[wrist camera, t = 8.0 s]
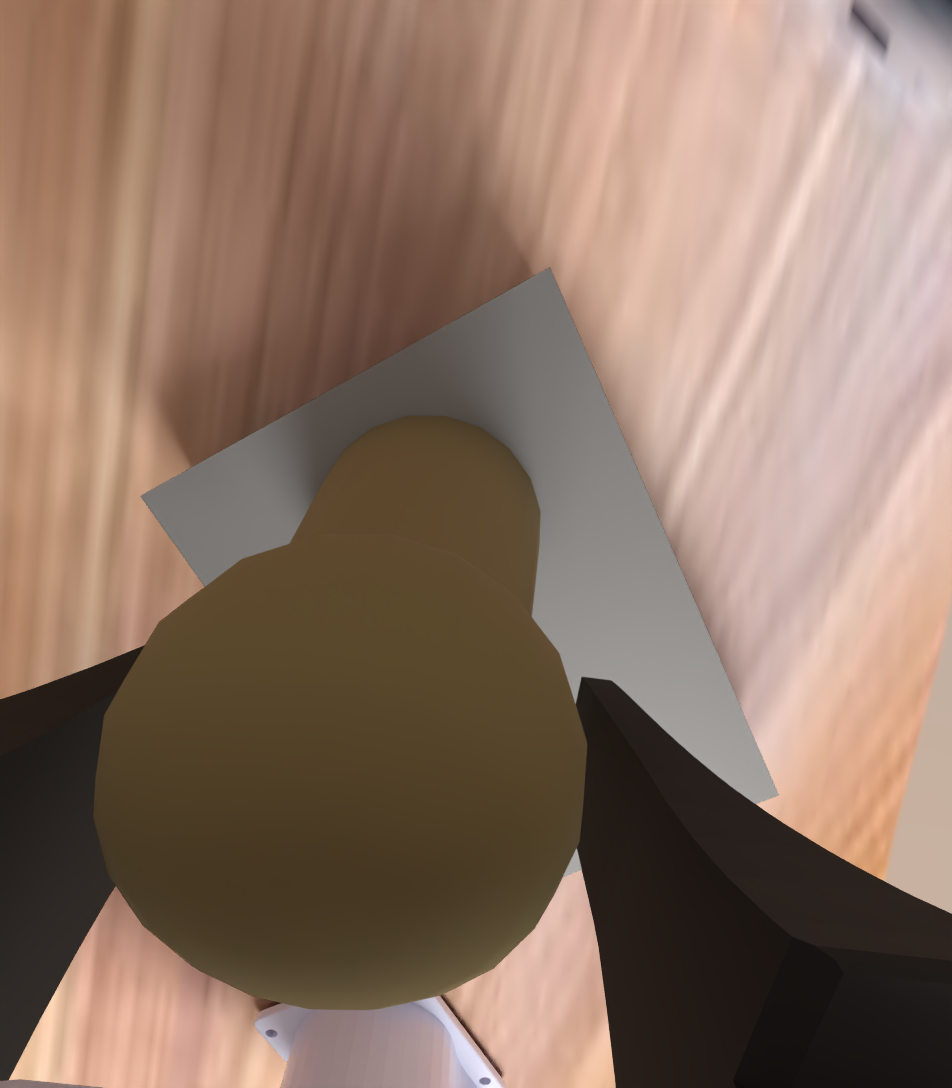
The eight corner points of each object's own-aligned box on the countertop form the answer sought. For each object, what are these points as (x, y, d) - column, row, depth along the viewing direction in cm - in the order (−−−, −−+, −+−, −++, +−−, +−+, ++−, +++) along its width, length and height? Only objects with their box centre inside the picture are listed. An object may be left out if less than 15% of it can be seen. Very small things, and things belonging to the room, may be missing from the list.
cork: (291, 434, 15) (-187, 627, 4) (526, 396, 14) (645, 502, 4) (345, 643, 16) (107, 1140, 6) (553, 614, 16) (686, 1089, 6)
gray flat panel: (738, 735, 21) (778, 795, 18) (448, 850, 23) (443, 922, 20) (537, 283, 16) (549, 267, 13) (194, 474, 18) (140, 495, 15)
